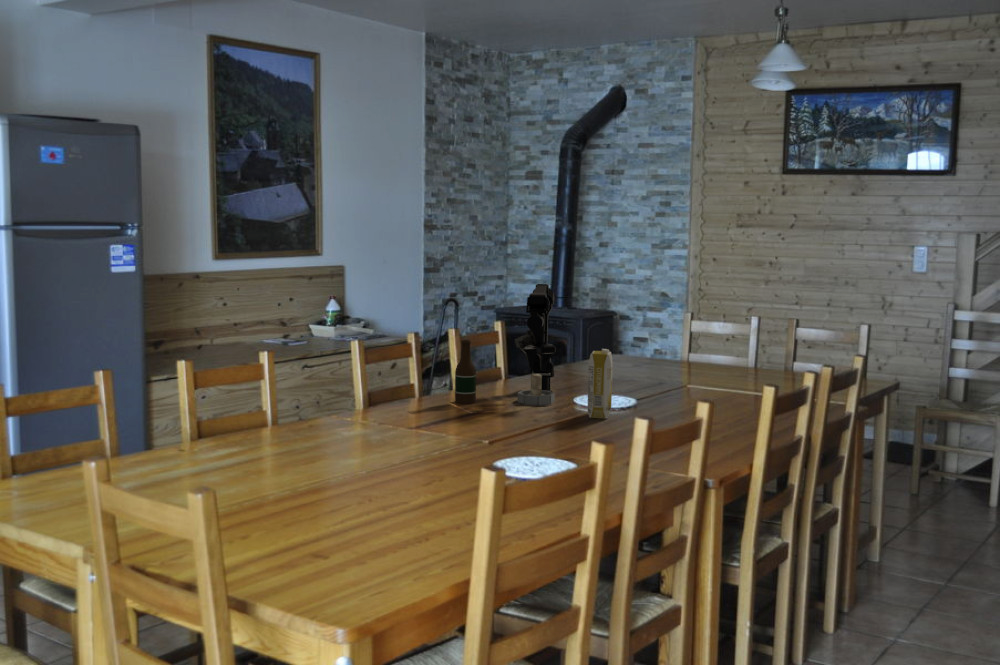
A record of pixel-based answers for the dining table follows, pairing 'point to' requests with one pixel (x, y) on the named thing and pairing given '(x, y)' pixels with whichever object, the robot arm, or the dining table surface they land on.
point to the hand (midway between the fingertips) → (536, 369)
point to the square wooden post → (536, 384)
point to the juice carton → (600, 384)
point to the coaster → (498, 398)
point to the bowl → (536, 398)
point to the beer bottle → (465, 377)
